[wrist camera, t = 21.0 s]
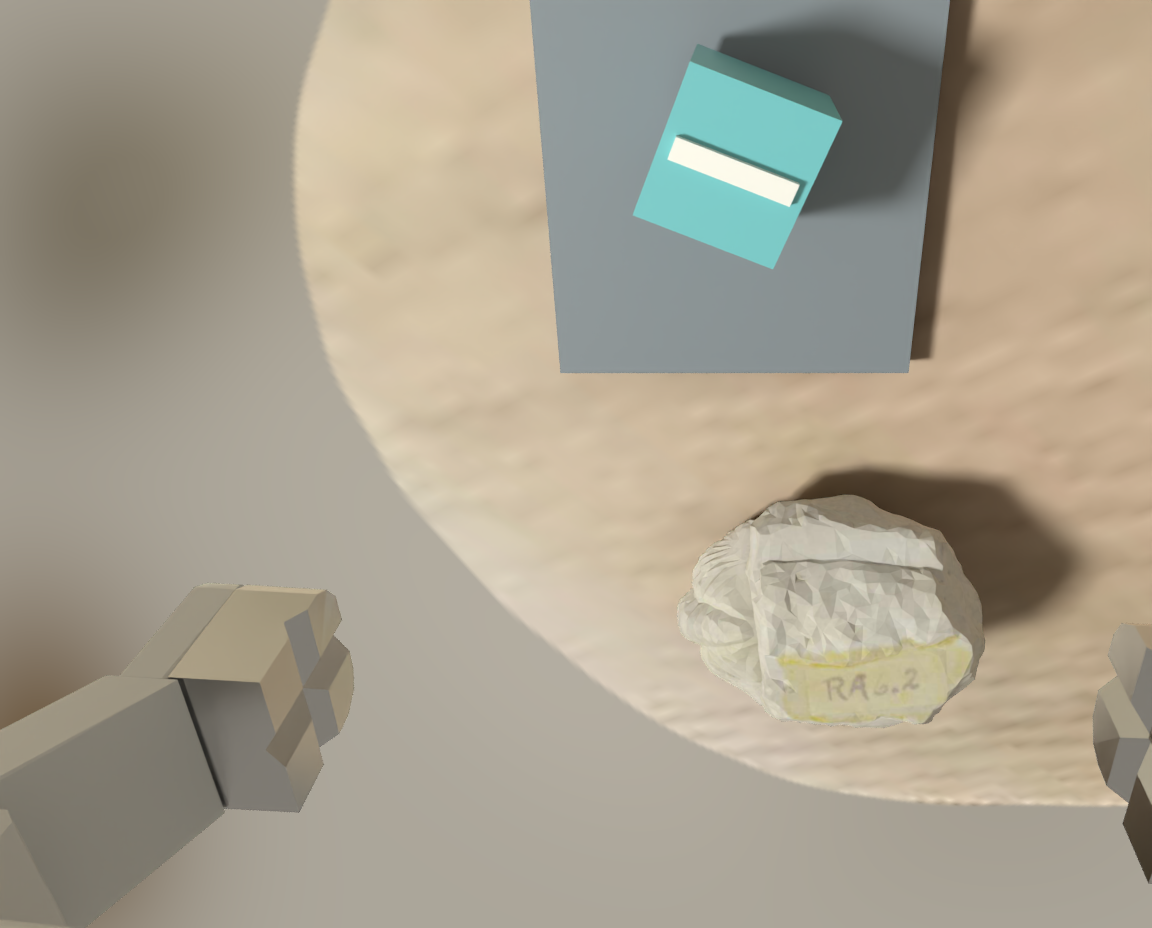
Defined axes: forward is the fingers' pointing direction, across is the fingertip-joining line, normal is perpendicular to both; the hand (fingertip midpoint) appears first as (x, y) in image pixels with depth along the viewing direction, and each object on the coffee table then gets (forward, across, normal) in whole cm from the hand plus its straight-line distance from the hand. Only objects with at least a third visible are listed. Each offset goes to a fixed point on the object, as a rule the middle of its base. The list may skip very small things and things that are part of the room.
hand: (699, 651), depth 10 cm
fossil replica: (+29, -4, +19) cm, 35 cm away
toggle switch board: (+29, 0, 0) cm, 29 cm away
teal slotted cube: (+27, 0, 0) cm, 27 cm away
